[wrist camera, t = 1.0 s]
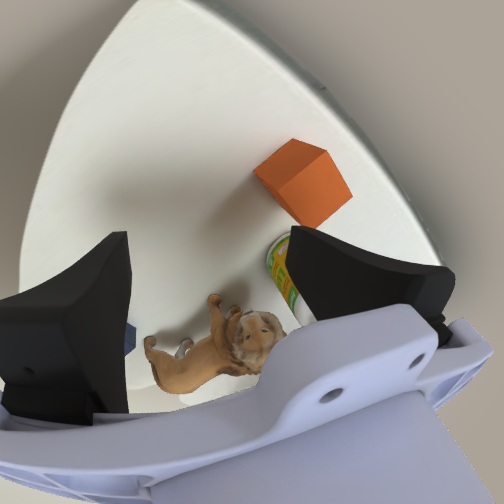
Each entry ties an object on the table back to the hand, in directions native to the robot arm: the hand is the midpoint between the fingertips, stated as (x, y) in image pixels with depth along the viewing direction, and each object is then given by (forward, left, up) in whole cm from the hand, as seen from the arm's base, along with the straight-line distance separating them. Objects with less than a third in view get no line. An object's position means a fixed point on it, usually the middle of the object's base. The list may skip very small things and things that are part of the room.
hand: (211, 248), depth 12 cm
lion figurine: (-9, +8, -10) cm, 16 cm away
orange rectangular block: (-4, -6, -9) cm, 12 cm away
